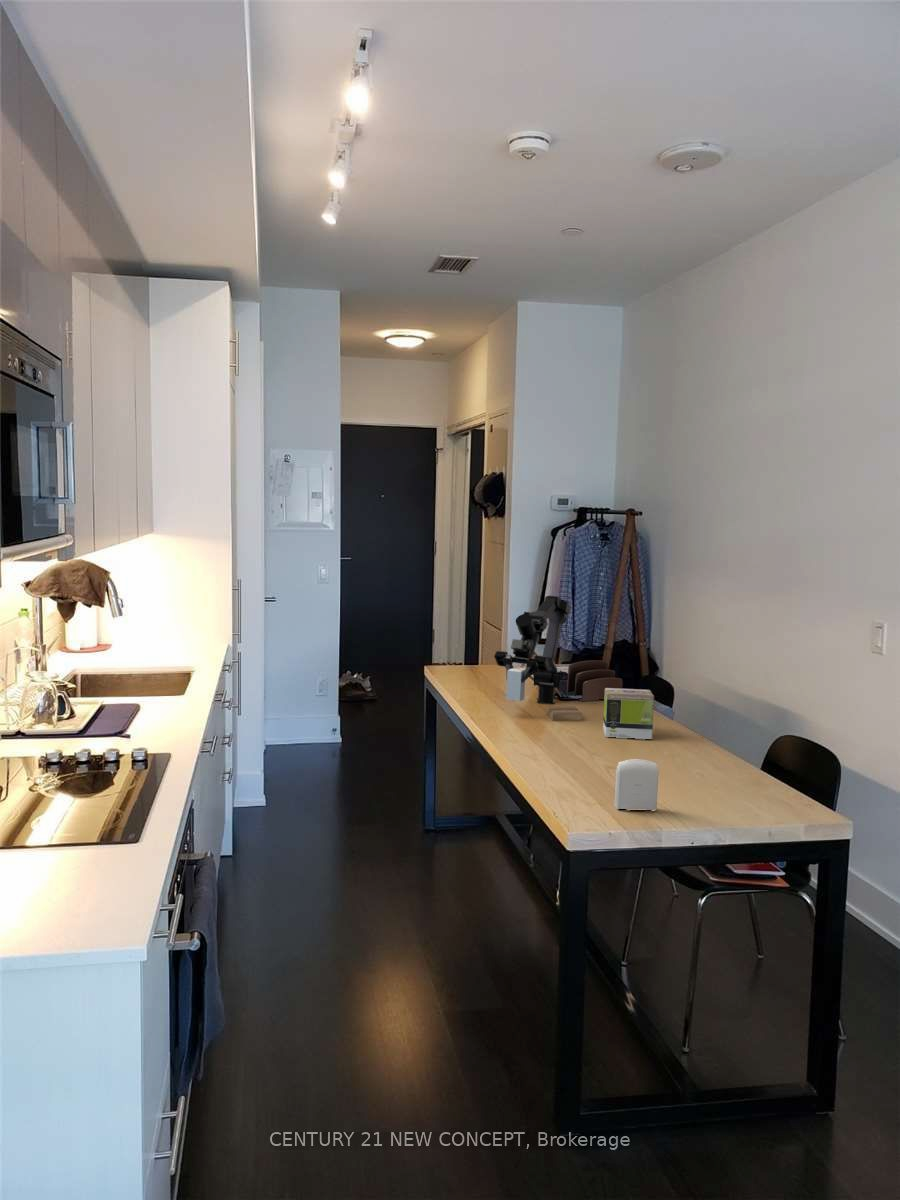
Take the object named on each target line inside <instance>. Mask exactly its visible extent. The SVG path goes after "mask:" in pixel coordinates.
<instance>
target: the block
mask: <svg viewBox="0 0 900 1200" xmlns="http://www.w3.org/2000/svg"><path fill="white" fill-rule="evenodd" d="M545 713H546V714H545V715H546V716H547V717H548V718H549V719H550V720H551V721H552V722H576V723H578V722H579V723H581V722H582V716H583V715H582V713H583V712H582V711H581V710H579V709H578V708H577V707H576V706H575V705H546V709H545Z"/></svg>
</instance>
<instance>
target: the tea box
mask: <svg viewBox="0 0 900 1200" xmlns="http://www.w3.org/2000/svg"><path fill="white" fill-rule="evenodd" d="M654 703H655V695H654V694H653V692H652V691H651V689H641V688H640V689H639V688H638V689H637V688H636V689H635V688H622V689H620V688H605V695H604V700H603V718H602V719H603V721H602V725H603V727H602V730H603V733H604V737H605V738H608V737H616V738H615V739H627V738H635V739H634V740H645V739H652V740H653V728H654V710H655V709H654V707H655V705H654Z"/></svg>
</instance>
